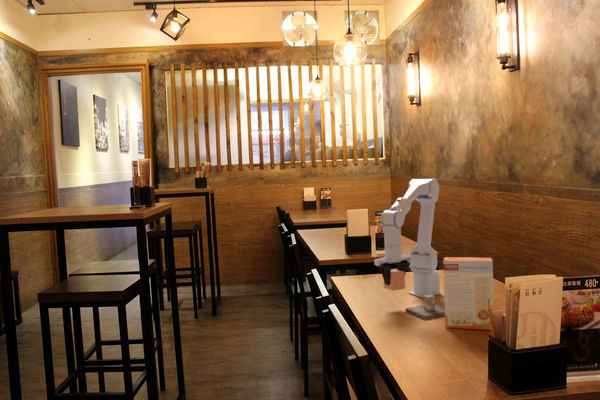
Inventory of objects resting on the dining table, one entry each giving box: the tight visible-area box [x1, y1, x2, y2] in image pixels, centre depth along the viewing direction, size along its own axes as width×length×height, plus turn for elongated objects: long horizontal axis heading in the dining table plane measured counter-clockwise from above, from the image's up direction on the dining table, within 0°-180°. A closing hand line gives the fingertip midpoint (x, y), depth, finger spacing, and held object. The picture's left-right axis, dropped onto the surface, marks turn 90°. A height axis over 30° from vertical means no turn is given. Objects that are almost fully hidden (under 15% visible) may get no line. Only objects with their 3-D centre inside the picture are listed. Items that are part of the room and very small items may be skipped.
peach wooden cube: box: [383, 268, 406, 291], centre depth 167 cm, size 5×5×6 cm
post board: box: [405, 294, 445, 320], centre depth 160 cm, size 12×10×6 cm
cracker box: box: [442, 256, 495, 331], centre depth 145 cm, size 14×6×21 cm, turn 71°
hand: (394, 283), depth 167 cm, fingers closed on peach wooden cube, 5 cm apart
